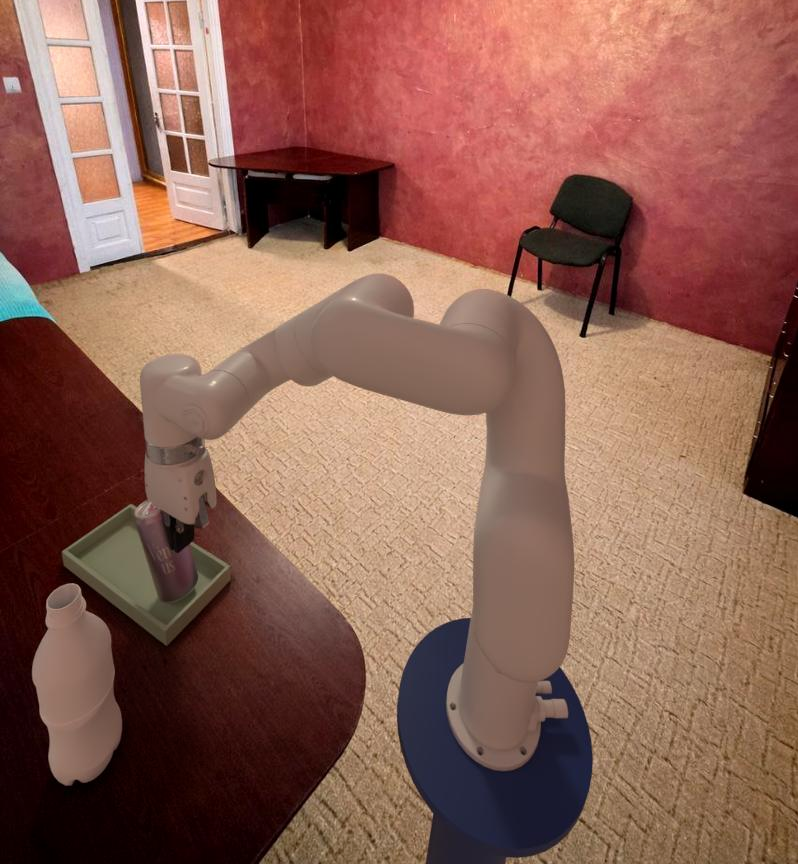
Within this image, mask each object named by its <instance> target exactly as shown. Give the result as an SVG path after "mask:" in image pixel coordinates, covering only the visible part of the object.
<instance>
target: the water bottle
mask: <svg viewBox="0 0 798 864" xmlns="http://www.w3.org/2000/svg"><path fill="white" fill-rule="evenodd" d="M45 609H46V616H45V625H46V627H47V630H46V632H45V634H44V636H43V637H42V639H41V640H40V643H39V645H38V647H37V649H36V651H35V655H34V658H33V661H32V668H31V678H32V679H31V680H32V682H33V686H35V689H36V695H37V700H38V705H39V716H40V718H41V720H42V722H43V723H44V725H45V726H46V727H47V731H48V737H49V747H48V755H47V757H48V764H49V768H50V771H51V774H52V776H53V777H54V778H55V779H56V780H57V782H58V783H60V784H61V785H64V786H67V787H68V786H73V784H74V782H75V781H76V780H77V781H79V782H80V783H83V784H84V783H86V784H87V783H88V782H92V781H94V780H95V779H97V778H98V777H99V776H100V775H101V774H102V773H103V772H104V771H105V769H106V768H107V766H108V764H109V763H110V761H111V759H112V757H113V754H114V751H115V750H116V749H118V746H119V744H120V742H121V738H122V733H123V717H122V712H121V708H120V705H119V704H118V702H117V701H116V698H115V693H114V682H115V673H116V671H115V670H116V668H115V664H114V659H113V651H112V635H111V630H110V629H109V627H108V625H107V623H105V621H104V620H103V619H102V618H100V617H99V616H98V615H95V614H94V613H92V612H90V611H87V610H86V609H87V601H86V600H85V598H84V596H83V595H82V589H81V587H80V586H79V585H78V584H76V583H66V584H63V585H60V586H58V587H57V588H56V589H54V590H52V592H51V593H50V594H49V596H48V597H47V599H46V606H45Z"/></svg>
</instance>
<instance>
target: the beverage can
mask: <svg viewBox="0 0 798 864" xmlns="http://www.w3.org/2000/svg"><path fill="white" fill-rule="evenodd" d="M136 507H137V508H136V510H135V512H134V516H135V524H136V528H137V531H138V534H139V537H140V541H141V544H142V547H143V550H144V553H145V557H146V560H147V563H148V566H149V569H150V573H151V576H152V579H153V582H154V586H155V589H156V592H157V595H158V598H159V600H161V601H162V602H164V603H175V602H177V601H180V600H182V599H183V598H185V597H186V596H188V595H189V594H190V593H191V592H192V591H193V589H194V588H195V586H196V584H197V581H198V573H197V570H196V566H195V563H194V559H193V556H192V553H191V549H190V546H189V545H188V546H187V547H185V548H184V549H183V550H182V551H181V552H179V553H176V552H175V551H174V550H171V549H170V548H169V534H168V528H169V527H168V526H167V525H166V524H165V520H164V515H163V511H162V510H161V509H160V508H158V507H157V506H155V505H154V504H152V503H151V502H150V501H149V500H148V499H146V500H144V501H143V502H142V503H140V504H139V505H138V506H136Z"/></svg>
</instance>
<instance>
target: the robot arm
mask: <svg viewBox="0 0 798 864" xmlns="http://www.w3.org/2000/svg"><path fill="white" fill-rule="evenodd" d="M413 300H414V299H413V297H412V295H411V292H410V290H409V289H408V287H407V286H406V285H405V284H404V283H403V282H402V281H401V280H399V278H397V277H395V276H393V275H390V274H387V273H370V274H367V275H364V276H362V277H359V278H358V279H355V280H353V281H352V282H350V283H348V284H346V285H345V286H342V288H339V289H338V290H336V291H335V292H333V293H331V294H330V295H328V296H327V297H325V298H323V299H321V300H320V301H318V302H317V303H315V304H313V305H312V306H309V307H308V308H307V309H305V310H304V311H301V312H300V313H298V314H297V315H295V316H293V317H291V318H290V319H287V320H286V321H284V322H283V323H281V324H280V325H278V326H277V327H276V328H274V329H273V330H271V331H268V332H266V333H265V334H264V335H262V336H260V337H258V338H257V339H255V340H253V341H252V342H250V343H248V344H247V345H245V346H244V347H242V348H240V349H239V350H237V351H235V352H234V353H232V354H231V355H230V356H228V357H226V358H225V359H224V360H222V361H221V362H220V363H218V364H217V365H215V366H214V367H213V368H212V369H210V370H209V371H208V372H206V373H203V374H202V367H201V364H200V362H199V361H198V360H197V359H196V358H194V357H193V356H190V355H187V354H180V353H174V354H165V355H161V356H158V357H156V358H153V359H152V360H150V361H148V362H147V363H146V364H145V365H144V366H143V367H142V368H141V372H140V373H139V388H140V398H141V400H140V401H141V409H142V422H143V434H144V445H145V452H144V453H145V456H144V468H143V469H144V470H143V471H144V487H145V495H146V498H147V500H149V501H150V502H151V503H152V504H154V505H155V506H157V507H158V508H160V509H161V510H162V511H163V515H164V520H165V524H166V525H167V526H168V527H169V528H168V534H169V548H170V549H171V550H174V551H175V552H176V553H179V552H181V551H182V550H183V549H184V548H185V547H187V546H188V545H189V544H190V543H191V542H193V541H194V540H195V537H196V536H195V534H196V533H195V529H198V530H204V528H206V527H207V526H209V524H210V519H209V515H208V510H207V507H208V508H210V509H212V510H213V509H214V508H215V507H216V506H217V499H218V498H217V497H218V496H217V486H216V478H215V472H214V466H213V462H212V458H211V456H210V453H209V450H208V449H207V448H206V441H213V440H217V439H220V438H221V437H223V436H225V435H226V434H227V433H228V432H229V431H230V430H231V429H233V428H234V427H235V426H236V424H237V423H238V422H240V420H242V418H244V417H245V415H246V414H247V413H248V412H250V411H251V409H252V408H254V406H255V405H257V403H259V401H261V400H262V399H263V398H264V397H265V396H266V395H267V394H269V393H270V392H272V390H274V389H276V388H279V387H280V386H281V385H283V384H285V383H287V382H289V381H292V382H293V383H295V384H297V385H299V386H302V387H315V386H318V385H320V384H322V383H323V382H325V381H327V380H330V379H331V378H333V377H334V378H336V379H338V380H339V381H341V382H344V383H345V384H349V385H351V386H354V387H357V388H358V389H359V388H360V389H362V390H365V391H367V392H368V391H369V392H373V393H375V394H379V395H382V396H385V397H389V398H392V399H396V400H400V401H403V402H407V403H411V404H414V405H417V406H421V407H424V408H427V409H431V410H435V411H438V412H442V413H445V414H450V415H457V416H466V417H467V416H468V417H469V416H479V415H483V414H485V424H486V426H485V427H486V436H485V437H486V439H485V440H486V443H485V444H486V445H485V446H486V447H485V460H484V467H483V473H482V477H481V481H480V486H479V493H478V498H477V499H478V500H477V505H476V512H475V521H474V528H473V529H474V530H473V540H472V541H473V544H472V609H471V614H470V618H471V620H470V626H469V633H468V639H467V645H466V652H465V658H464V663H463V664H462V665H461V666H460V667H459V668H458V669H457V670H456V671H455V673H454V674H453V676H452V677H451V680H450V683H449V686H448V691H447V699H446V709H447V716H448V720H449V725H450V727H451V730H452V732H453V734H454V736H455V738H456V740H457V741H458V743H459V745H460V746H461V747H462V748H463V750H464V751H465V752H466V753H467V754H468V755H469V756H470V757H471V758H472V759H473V760H475V761H476V762H478V763H479V764H481V765H483V766H484V767H487V768H490V769H493V770H497V771H510V770H514V769H517V768H519V767H521V766H523V765H524V764H525V763H526V762H528V761H529V759H530V758H531V757H532V755H533V754H534V752H535V750H536V747H537V745H538V741H539V737H540V730H541V722H544V721H545V718H568V708H567V704H566V702H565V700H564V699H551V700H542V698H541V696H535V694H536V693H542V694H551V693H552V687H551V683H550V681H541V680H543V679H546V678H548V677H549V676H551V675H552V674H553V673H555V672H556V671H557V670H558V668H559V667H560V668H561V666H562V664H563V663H564V660H565V659H566V657H567V655H568V651H569V646H570V639H571V629H572V614H573V613H572V612H573V599H574V586H575V585H574V584H575V546H574V534H573V525H572V516H571V507H570V499H569V493H568V492H569V491H568V486H567V481H566V470H565V469H566V467H565V463H566V462H565V460H566V459H565V458H566V457H565V455H566V389H565V380H564V374H563V369H562V365H561V360H560V357H559V354H558V351H557V349H556V346H555V344H554V342H553V340H552V338H551V336H550V334H549V333H548V331H547V330H546V328H545V326H544V325H543V323H542V322H541V321H540V320H539V317H538V316H536V315H535V314H534V313H533V312H532V311H531V310H530V309H529V308H528V307H527V306H525V305H524V304H523V303H521V302H520V301H519V300H517V299H515V298H513V297H512V296H510V295H508V294H506V293H503V292H501V291H499V290H494V289H490V288H489V289H488V288H477V289H473V290H470V291H467V292H465V293H463V294H461V295H460V296H459V297H457V298H456V299H455V300H453V302H452V303H451V304H450V305H449V307H448V308H447V309H446V310H445V312H444V314H443V316H442V318H441V320H440V322H439V323H435V322H430V321H426V320H423V319H419V318H415V317H414V316H415V306H414V305H415V304H414V301H413ZM451 709H453V710H451ZM521 753H523V754H524V755H522V754H521ZM479 754H481V755H479Z"/></svg>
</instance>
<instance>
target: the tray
mask: <svg viewBox="0 0 798 864" xmlns="http://www.w3.org/2000/svg"><path fill="white" fill-rule="evenodd" d="M137 507H138V506H135V505H134V504H132V503H130V504H128V505H127V506H126V507H124V508H123V509H121V510H120V511H119V512H117V513H116V514H113V516H111V517H110V518H108V519H107V520H105V521H104V522H102V523H101V524H100V525H97V526H96V527H95V528H94V529H92V530H91V531H90V532H88V533H86V534H85V535H83V536H82V537H81V538H79V539H78V540H77V541H75V542H73V543H72V544H71V545H68V547H66V548H65V549H63V550H62V551H61V556H62V563H63V567H64V568H66V569H68V570H69V571H70V572H71V573H72V574H74V576H77V578H79V579H80V580H81V581H83V582H84V583H85V584H87V585H88V586H89V587H91V588H92V590H94V591H95V592H97V593H98V594H99V595H101V596H102V597H103V598H104V599H105V600H107V601H108V602H110V603H111V604H112V605H113V606H115V607H116V608H117V609H119V610H120V611H121V612H122V613H124V614H125V615H126V616H127V617H129V618H130V619H131V620H132V621H134V622H135V623H137V625H139V626H140V627H141V628H142V629H144V630H145V631H146V632H148V633H149V634H150V635H152V636H153V637H154V638H155V639H157V640H158V641H159V642H160V643H162V644H163V645H164V646H166V647H167V646H169V645H170V643H172V641H173V640H174V639H175V638H176V637H177V636H178V635H179V634H180V633H181V632H182V631H183V630H184V629H185V628H186V627H187V626H188V625H189V624H190V623H191V622H192V621H193V620H194V619H195V618H196V617H197V616H198V615H199V613H201V611H203V609H205V608H206V606H207V605H208V604H209V603H210V602H211V601H213V600H214V598H215V597H216V596H217V595H218V594H219V593H220V592H221V591H222V590H223V589H224V588H225V587H226V586H227V584H228V583H230V581H231V580H232V573H231V572H232V571H231V570H232V569H231V567H232V566H231V565H229V563H227V562H225V561H224V560H222V559H221V558H218V557H217V556H215V555H214V554H212V553H211V552H209V551H208V550H206V549H204V548H203V547H202V546H199V545H198V544H196V543H195V542H193V541H192V542H191V543H190V544H189V546H190V549H191V553H192V556H193V559H194V563H195V566H196V570H197V573H198V581H197V584H196V586H195V588H194V589H193V591H192V592H191V593H190V594H189V595H188V596H186V597H185V598H183V599H182V600H180V601H177V602H175V603H164V602H162V601H161V600H159V598H158V595H157V592H156V589H155V586H154V582H153V579H152V576H151V573H150V569H149V566H148V563H147V560H146V557H145V553H144V550H143V547H142V544H141V541H140V537H139V534H138V531H137V528H136V524H135V516H134V512H135V510H136V508H137Z"/></svg>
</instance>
